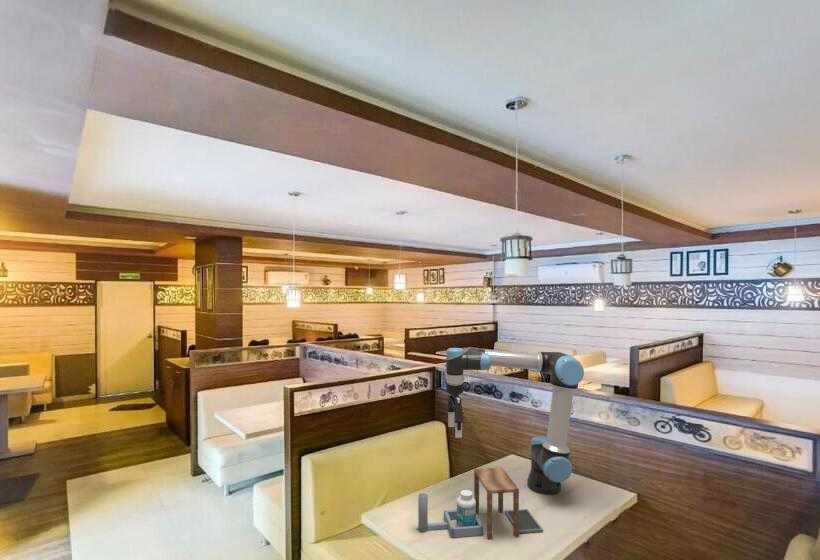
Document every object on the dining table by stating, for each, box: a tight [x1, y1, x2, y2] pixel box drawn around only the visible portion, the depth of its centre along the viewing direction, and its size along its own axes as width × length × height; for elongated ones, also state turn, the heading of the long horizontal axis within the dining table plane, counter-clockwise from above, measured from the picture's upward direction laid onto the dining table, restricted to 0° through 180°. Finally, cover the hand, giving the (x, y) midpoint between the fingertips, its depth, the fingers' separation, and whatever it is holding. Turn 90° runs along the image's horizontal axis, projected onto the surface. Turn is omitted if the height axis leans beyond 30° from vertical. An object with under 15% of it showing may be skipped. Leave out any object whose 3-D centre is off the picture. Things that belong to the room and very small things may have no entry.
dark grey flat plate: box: [504, 508, 544, 535], centre depth 168 cm, size 10×15×1 cm, turn 7°
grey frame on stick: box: [417, 492, 484, 539], centre depth 164 cm, size 24×13×13 cm, turn 97°
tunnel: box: [473, 467, 520, 540], centre depth 167 cm, size 12×19×18 cm, turn 7°
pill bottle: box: [456, 489, 476, 527], centre depth 165 cm, size 8×7×14 cm
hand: (454, 431), depth 184 cm, fingers open, 13 cm apart
